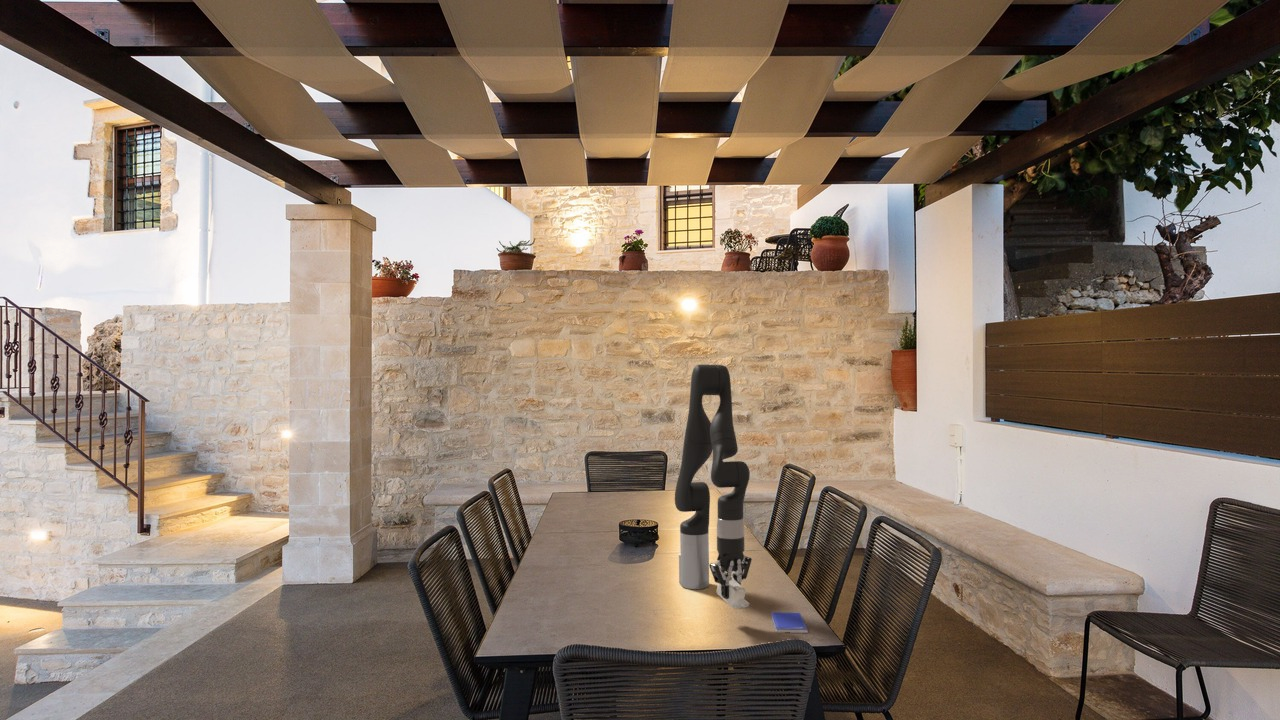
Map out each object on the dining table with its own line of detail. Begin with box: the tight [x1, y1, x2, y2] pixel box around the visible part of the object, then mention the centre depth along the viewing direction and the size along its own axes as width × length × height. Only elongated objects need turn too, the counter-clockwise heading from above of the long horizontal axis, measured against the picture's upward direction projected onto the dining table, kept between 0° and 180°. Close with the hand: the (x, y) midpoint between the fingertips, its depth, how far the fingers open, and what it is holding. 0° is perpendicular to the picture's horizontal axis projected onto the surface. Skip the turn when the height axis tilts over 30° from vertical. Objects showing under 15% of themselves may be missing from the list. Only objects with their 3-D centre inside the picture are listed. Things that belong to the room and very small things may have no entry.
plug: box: [715, 576, 750, 610], centre depth 190 cm, size 11×3×5 cm, turn 34°
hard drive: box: [770, 611, 809, 634], centre depth 190 cm, size 2×8×12 cm
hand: (731, 596), depth 191 cm, fingers closed on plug, 3 cm apart
